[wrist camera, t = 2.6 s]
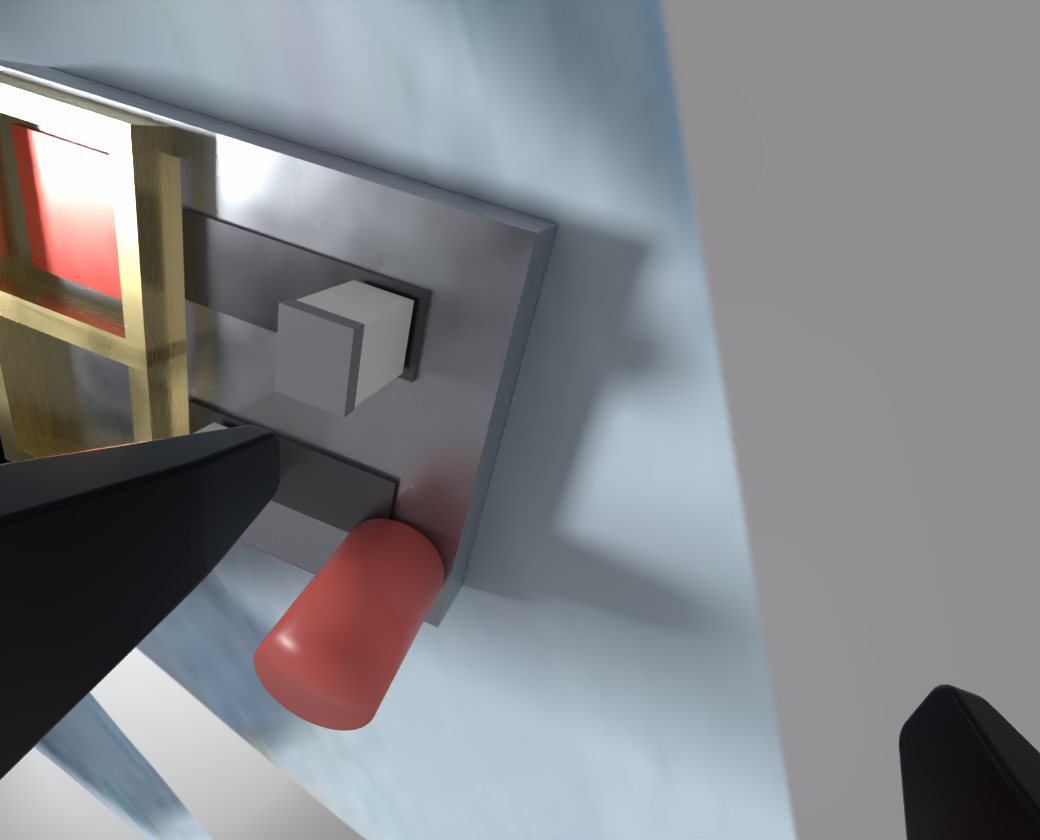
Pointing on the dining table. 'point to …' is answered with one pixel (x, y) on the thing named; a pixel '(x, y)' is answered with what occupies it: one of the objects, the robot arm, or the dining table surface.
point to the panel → (250, 308)
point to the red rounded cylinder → (352, 626)
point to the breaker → (341, 345)
